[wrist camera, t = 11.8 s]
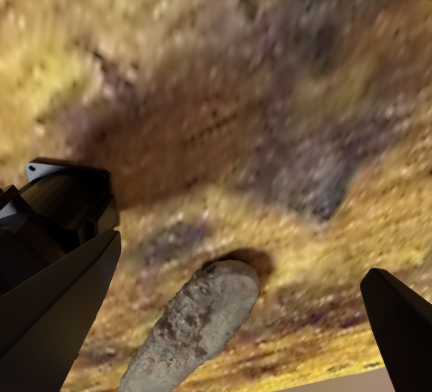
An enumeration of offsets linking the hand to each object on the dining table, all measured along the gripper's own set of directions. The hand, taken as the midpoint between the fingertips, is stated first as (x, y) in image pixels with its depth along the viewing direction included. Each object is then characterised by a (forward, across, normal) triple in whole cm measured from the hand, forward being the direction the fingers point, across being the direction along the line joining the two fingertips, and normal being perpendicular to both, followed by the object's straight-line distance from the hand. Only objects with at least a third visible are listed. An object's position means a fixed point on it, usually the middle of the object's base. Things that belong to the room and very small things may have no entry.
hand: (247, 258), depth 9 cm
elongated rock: (+12, +2, +29) cm, 31 cm away
